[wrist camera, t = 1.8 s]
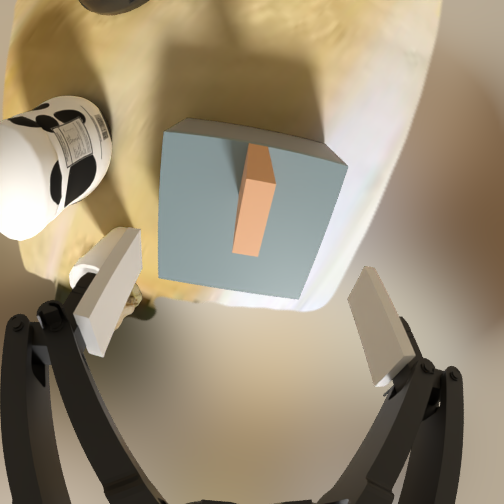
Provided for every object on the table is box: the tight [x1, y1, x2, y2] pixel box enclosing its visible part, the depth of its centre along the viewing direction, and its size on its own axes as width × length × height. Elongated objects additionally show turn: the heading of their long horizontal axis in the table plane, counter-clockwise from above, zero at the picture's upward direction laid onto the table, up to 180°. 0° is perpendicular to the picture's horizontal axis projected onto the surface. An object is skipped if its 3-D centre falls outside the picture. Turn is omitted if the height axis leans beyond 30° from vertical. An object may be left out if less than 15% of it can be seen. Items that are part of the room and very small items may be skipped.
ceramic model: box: [114, 283, 142, 330], centre depth 51 cm, size 14×11×10 cm
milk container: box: [0, 96, 112, 241], centre depth 28 cm, size 17×17×18 cm
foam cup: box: [69, 227, 127, 289], centre depth 41 cm, size 10×9×13 cm
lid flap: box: [158, 130, 348, 299], centre depth 28 cm, size 20×20×12 cm
